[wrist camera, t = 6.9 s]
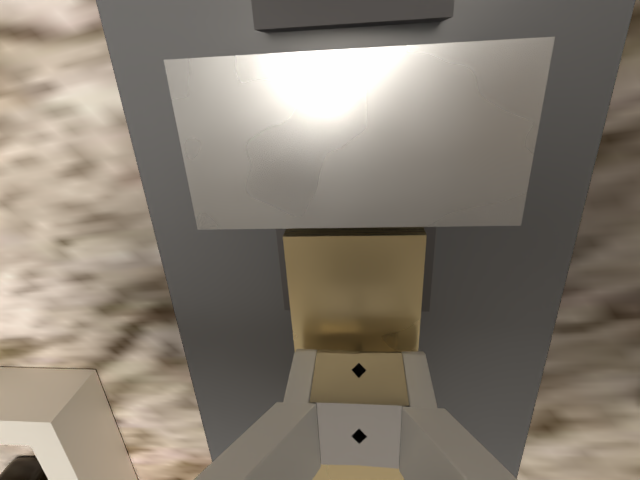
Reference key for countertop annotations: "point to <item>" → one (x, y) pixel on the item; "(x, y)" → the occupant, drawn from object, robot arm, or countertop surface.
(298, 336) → the brass strap
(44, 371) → the white square frame
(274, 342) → the lug board
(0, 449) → the countertop surface
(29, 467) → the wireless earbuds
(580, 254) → the countertop surface
